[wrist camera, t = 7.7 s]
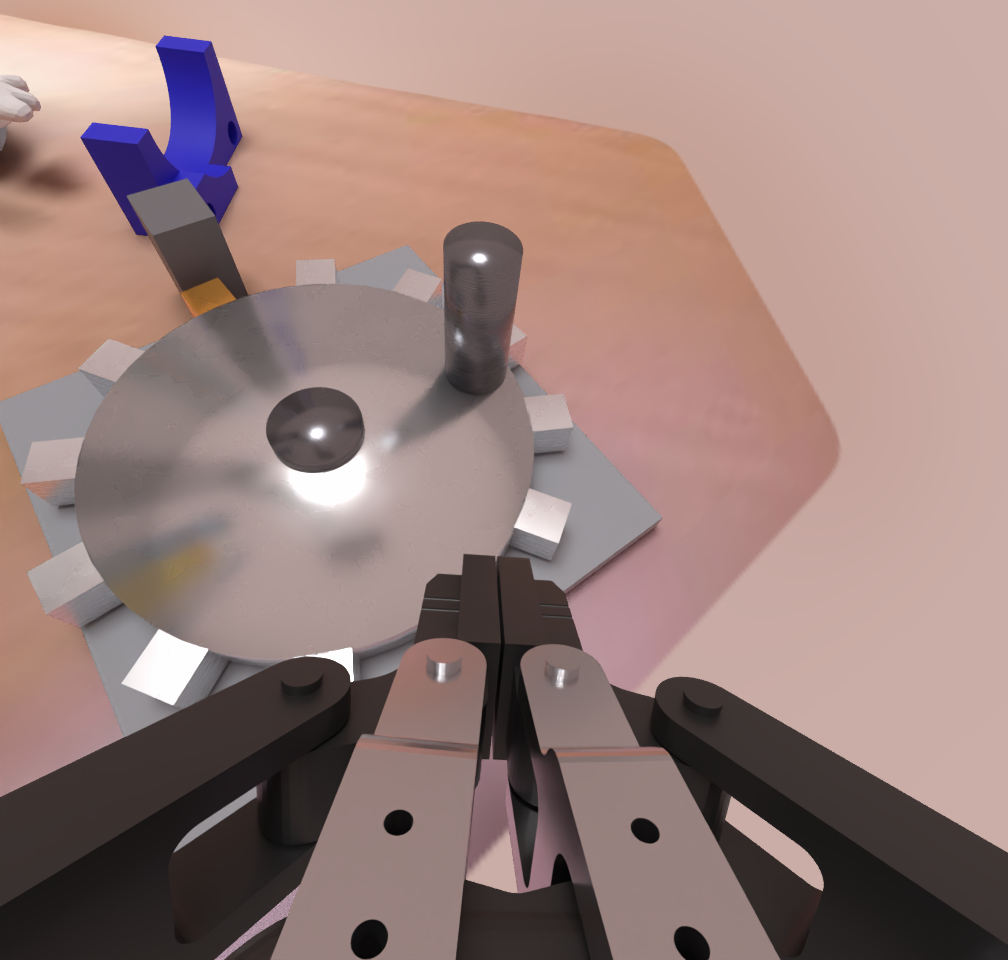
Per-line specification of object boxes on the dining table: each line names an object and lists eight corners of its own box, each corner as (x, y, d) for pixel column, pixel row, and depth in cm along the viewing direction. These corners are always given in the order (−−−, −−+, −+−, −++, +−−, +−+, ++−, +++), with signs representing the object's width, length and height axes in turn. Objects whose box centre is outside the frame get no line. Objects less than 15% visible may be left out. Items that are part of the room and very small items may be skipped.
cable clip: (209, 244, 34) (165, 147, 29) (137, 236, 34) (80, 137, 29) (263, 140, 40) (234, 44, 35) (202, 133, 40) (164, 35, 35)
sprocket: (-87, 592, 21) (-406, 479, 13) (248, 243, 32) (184, 71, 24) (462, 824, 19) (472, 855, 11) (616, 364, 30) (674, 217, 22)
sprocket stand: (-13, 360, 28) (-118, 265, 23) (373, 222, 36) (360, 128, 31) (193, 870, 19) (94, 905, 13) (654, 527, 27) (703, 466, 22)
